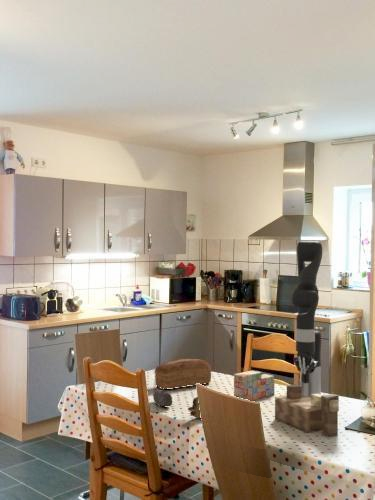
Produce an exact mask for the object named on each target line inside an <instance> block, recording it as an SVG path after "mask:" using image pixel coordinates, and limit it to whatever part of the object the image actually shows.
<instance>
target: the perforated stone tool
mask: <svg viewBox="0 0 375 500" xmlns="http://www.w3.org/2000/svg"><path fill="white" fill-rule="evenodd" d="M152 397H153V401H154V402H156V405H158V404H159V405H160V406H159V405H158V406H159V407H162V406H163V407H162V408H164V407H165V406H170V407H171V406H172V404H173V397H172V395H171V394H170V393H169V391H167V390H164V389H157V390H155V391H154V392H153V396H152Z"/></svg>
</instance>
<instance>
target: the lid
mask: <svg viewBox="0 0 375 500" xmlns="http://www.w3.org/2000/svg"><path fill="white" fill-rule="evenodd" d="M275 400H277V401H280V402H282V403H285V404H287V405H290V406H292V407H295V408H298V409H300V410H303V411H305V412H310V411H316V410H321V408H320V407H317V406H314V405H311V398H309V397H307V396H304V395H302V386H300V385H299V384H296V383H295V384H288V385H286V395H285V394H284V395H279V396H278V395H277V396H275V397H274V401H275Z"/></svg>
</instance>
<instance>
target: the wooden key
mask: <svg viewBox="0 0 375 500" xmlns="http://www.w3.org/2000/svg"><path fill="white" fill-rule="evenodd" d="M321 396H323V394H321V395H320V394H317V393H315V394H311V405H314V406H317V407H320V408H321ZM339 401H340V400H336V399H329V411H331V412H336V411H338V412H339V405H340V404H339Z"/></svg>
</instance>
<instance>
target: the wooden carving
mask: <svg viewBox="0 0 375 500" xmlns="http://www.w3.org/2000/svg"><path fill="white" fill-rule="evenodd" d="M187 410H188V411H190V412H189V415H190V416H192V417H194V418H196V419H199V418H200V410H199V403H198V397H197V396H196V397H195V398H193V400H192V406H189V407H188V408H187Z"/></svg>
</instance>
